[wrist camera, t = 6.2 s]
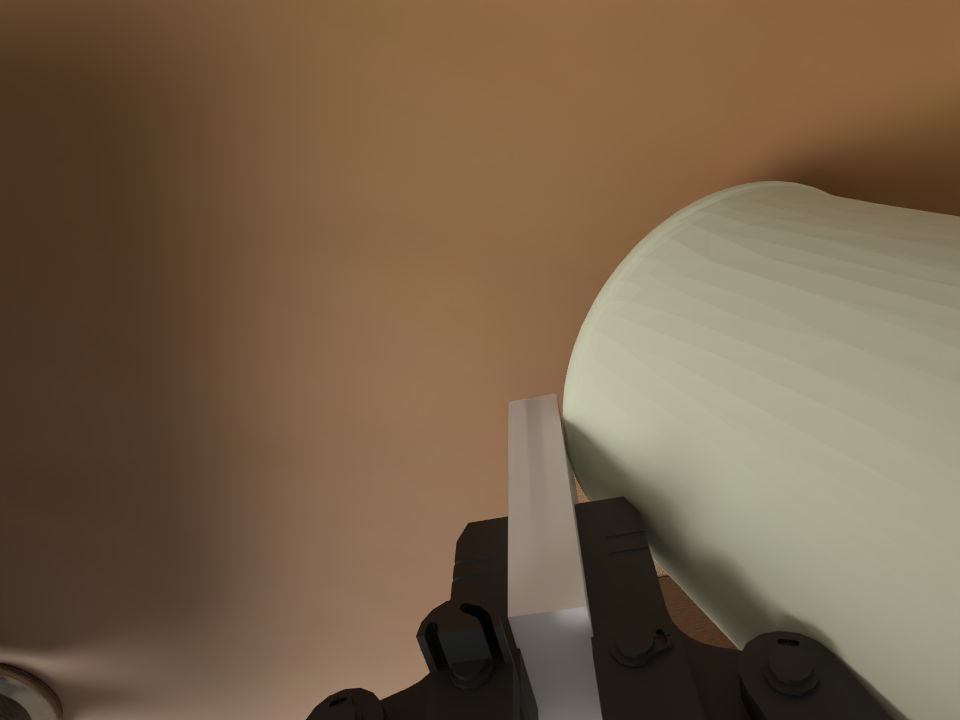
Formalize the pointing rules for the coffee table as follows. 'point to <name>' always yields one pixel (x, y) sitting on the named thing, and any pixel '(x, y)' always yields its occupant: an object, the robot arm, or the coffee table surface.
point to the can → (791, 424)
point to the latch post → (691, 616)
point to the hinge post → (26, 697)
